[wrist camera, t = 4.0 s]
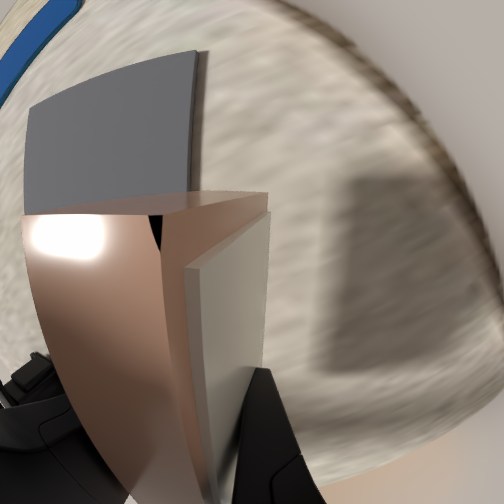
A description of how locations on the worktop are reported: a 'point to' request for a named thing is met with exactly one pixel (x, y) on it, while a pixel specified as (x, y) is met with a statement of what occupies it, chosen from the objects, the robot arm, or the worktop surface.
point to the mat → (113, 136)
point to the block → (156, 330)
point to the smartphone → (33, 41)
